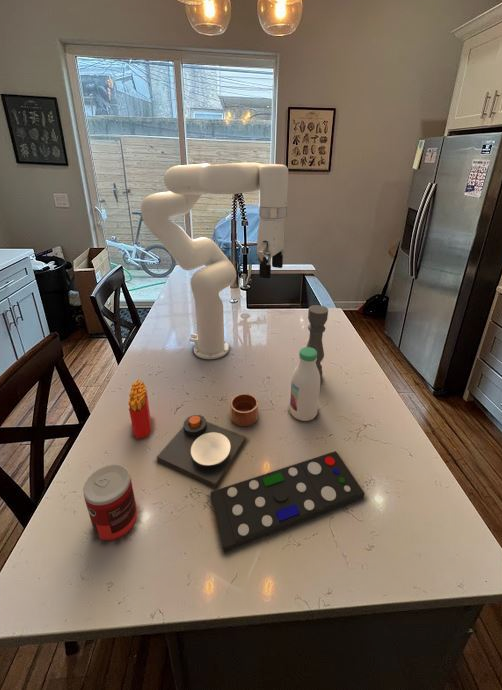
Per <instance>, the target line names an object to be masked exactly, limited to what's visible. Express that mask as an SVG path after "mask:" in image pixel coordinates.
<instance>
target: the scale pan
mask: <svg viewBox="0 0 502 690" xmlns="http://www.w3.org/2000/svg"><path fill="white" fill-rule="evenodd" d="M230 450H231V445H230V442H229V440H228V438H227V437H226V436H224V435H223V434H220V433H215V432H211V433H206V434H203V435H201V436H200V437H198V438H197V439H196V440H195V441H194V442H193V444H192V446H191V457H192V459H193V460H194V461H195V462H196V463H197V464H199V465H201V466H207V467H208V466H215V465H218V464H220V463H222V462H223V461H224V460H225V459H226V458H227V457H228V455H229V453H230Z"/></svg>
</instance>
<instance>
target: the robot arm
mask: <svg viewBox="0 0 502 690" xmlns="http://www.w3.org/2000/svg"><path fill="white" fill-rule="evenodd" d="M163 184H164V186H165V187H166V189H167V190H168V191H162V192H161V191H160V192H156V193H155V192H154V193H152V194H149V195H147V196H146V197H144V198H143V199H142V201H141V204H140V214H141V218H142V221H143V223H144V225H145V227H146V228H147V230H149V232H151V234H152V235H153V236H154V237H155V238H156V239H158V241H159V242H160V243H161V244H162V245H163V246H164V248H165V249H166V251H167V252H168V253H169V255H170V256H171V257H172V258H173V259H174V261H175V262H176V263H177V265H178V266H179V267H180V268H181V269H182V270H184V271H192V270H193V271H194V270H196V269H198V268H200V267H201V268H200V269H198V270H196V271H195V272H194V273H193V275H192V276H191V278H190V282H189V283H190V288H191V292H192V295H193V299H194V309H195V323H196V333H193V332H191V334H190V337H189V342H191V343H194V346H193V352H194V355H195V356H196V357H198V358H200V359H203V360H215V359H216V360H217V359H220V358H222V357H224V356H225V355H227V354H228V352H229V349H230V346H229V343H228V342H227V341H226V340H225V321H224V320H225V319H224V303H223V300H222V298H221V297H220V295H219V293H220V292H222V291H223V290H224V289H227V288H229V287H230V286H232V285H233V284H234V283H235V282H236V280H237V270H236V268H235V267H234V265H233V263H232V262H231V260H230V259H229V258H228V257H227V256H226V254H225V253H224V251H223V250H222V249H221V248H220V247H219V245H218V244H217V243H216V242H215V241H213V239H210V238H208V237H206V236H205V237H204V236H203V237H198V238H195V239H194V238H191V237H190V236H189V235H188V234H187V232H186V231H185V230H184V229H183V227H182V226H180V225H179V224H177V223H175V222H174V221H172V220H171V218H175V217H182V216H185V215H187V214H188V213H189V212H191V211H192V209H193V208H194V206H195V205H196V204H197V202H198V200H199V199H200V198H201V197H202V195H239V194H244V193H245V194H246V193H250V192H258V196H259V197H258V218H259V222H258V229H257V238H256V239H257V241H256V254H257V256H258V265H259V269H258V271H259V272H258V273H259V274H258V276H259V278H263V279H271V277H272V268H276V269H282V268H283V263H284V260H283V259H284V247H285V228H286V227H285V220H287V217H288V215H287V214H288V192H289V168H288V167H287V165H285V164H280V163H279V164H278V163H267V164H265V163H260V162H252V161H251V162H248V161H247V162H233V163H232V162H229V163H219V164H210V163H196V164H195V163H193V164H183V165H181V164H180V165H174V166H172V167H169V168H168V169H167V170H166V171H165V173H164V175H163Z"/></svg>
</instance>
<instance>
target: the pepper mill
mask: <svg viewBox="0 0 502 690" xmlns="http://www.w3.org/2000/svg"><path fill="white" fill-rule="evenodd" d="M328 318H329V309H328V307H326V306H324V305H320V304H313V305H310V306H309V307H308V312H307V319H308V322H309V324H308V326H307V329H308V331H309V338H308V341H307V344H306V347H310V348H313V349H315V350H316V351H317V361H316V366H317V368H318V371H319V374H320V384H321V383H322V379H323V366H322V364H321V363H322V362H323V361H324V357H325V351H324V345H323V335H324V334H323V333H325V331H326V326H325V325H326V323H327V322H328Z"/></svg>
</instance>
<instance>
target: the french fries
mask: <svg viewBox="0 0 502 690" xmlns="http://www.w3.org/2000/svg"><path fill="white" fill-rule="evenodd" d="M146 388H147V387H146V383H145V382H144V381H141V380H140V379H139V378H137V379H136V380H135V382H134V381H133V382H132V383H131V387H130V392H129V393H128V396H129V399H128V400H127V403H128V407H129V408H128V411H129V417H130V422H131V427H132V432H133V437H135V438H136V439H144V438H147V437H148V436H149V435H150V434H151V433H152V419H151V414H150V413H151V412H150V406H149V405H150V404H149V397H148V391H147V389H146Z"/></svg>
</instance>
